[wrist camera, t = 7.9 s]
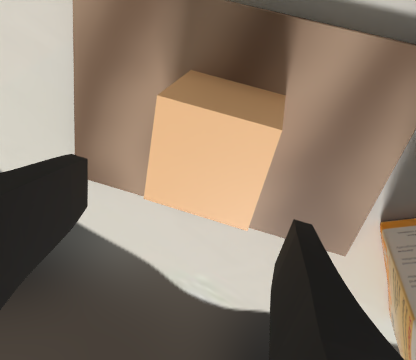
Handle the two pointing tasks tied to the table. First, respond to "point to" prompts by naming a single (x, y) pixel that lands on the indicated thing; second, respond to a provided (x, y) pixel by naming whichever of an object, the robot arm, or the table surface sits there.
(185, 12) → the walnut board
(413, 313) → the supplement box
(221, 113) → the orange cube
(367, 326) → the robot arm
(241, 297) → the table surface
